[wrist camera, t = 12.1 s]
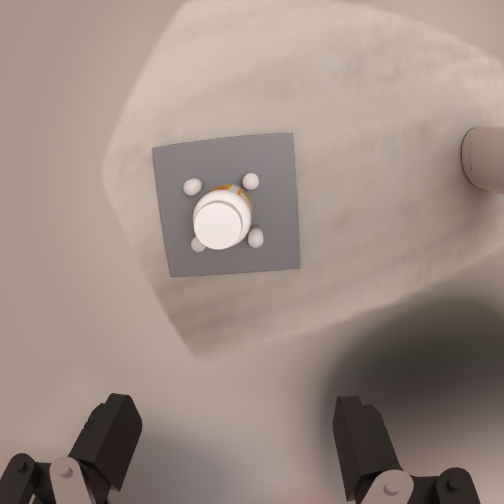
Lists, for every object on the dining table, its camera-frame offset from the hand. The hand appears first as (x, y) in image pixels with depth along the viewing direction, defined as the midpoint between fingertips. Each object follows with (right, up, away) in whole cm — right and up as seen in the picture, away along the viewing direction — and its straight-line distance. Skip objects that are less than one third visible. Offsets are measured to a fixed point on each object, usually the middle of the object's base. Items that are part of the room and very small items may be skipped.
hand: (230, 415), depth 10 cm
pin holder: (-2, +12, +24) cm, 27 cm away
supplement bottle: (-2, +11, +23) cm, 26 cm away
